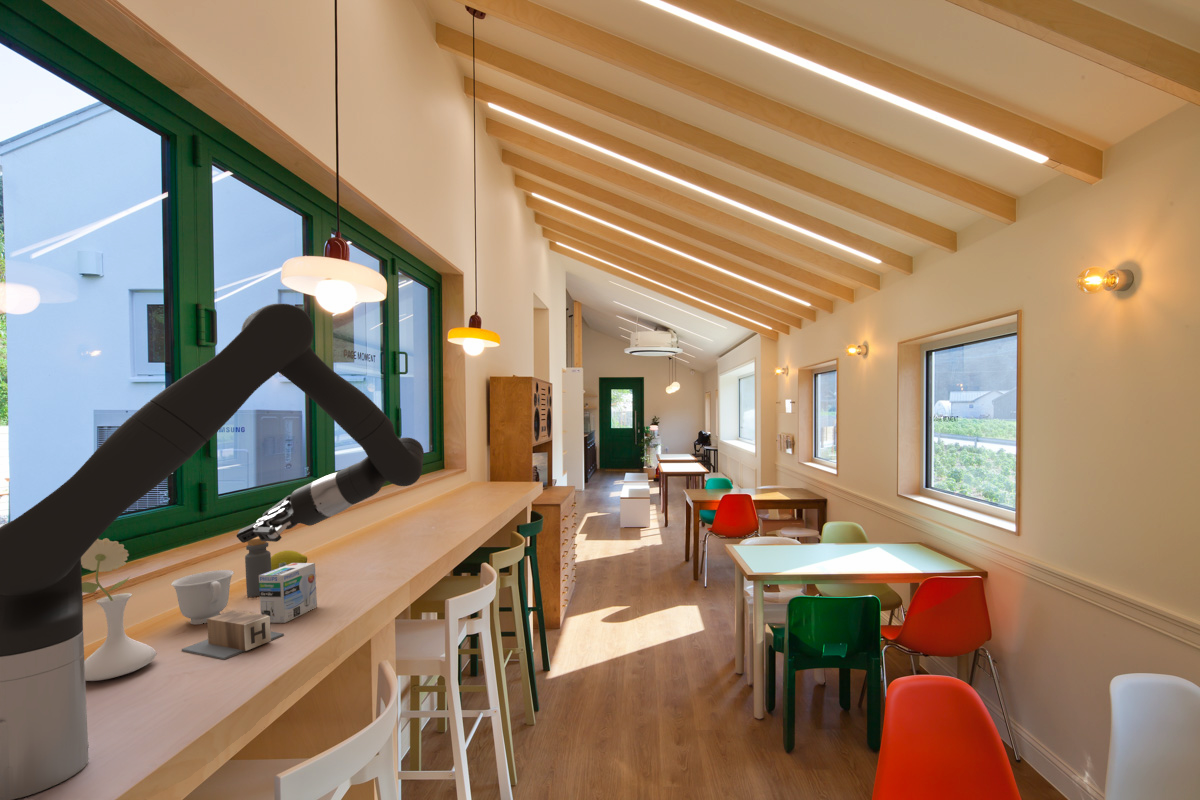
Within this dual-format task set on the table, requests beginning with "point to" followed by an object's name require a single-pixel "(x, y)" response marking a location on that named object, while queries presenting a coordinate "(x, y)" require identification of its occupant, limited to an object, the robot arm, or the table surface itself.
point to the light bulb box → (288, 592)
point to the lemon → (286, 559)
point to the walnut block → (239, 630)
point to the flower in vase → (112, 618)
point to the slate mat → (219, 648)
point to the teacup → (203, 594)
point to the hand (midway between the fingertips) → (240, 537)
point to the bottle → (256, 564)
